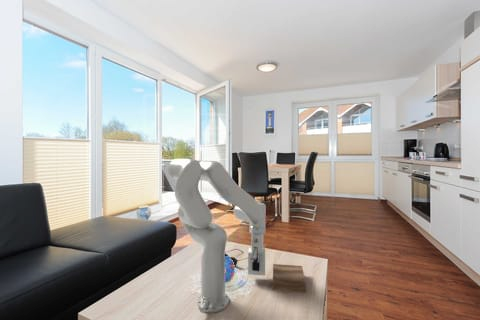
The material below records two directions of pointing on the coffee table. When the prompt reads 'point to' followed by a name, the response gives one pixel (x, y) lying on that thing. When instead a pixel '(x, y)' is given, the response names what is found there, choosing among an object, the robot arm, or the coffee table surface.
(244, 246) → the coffee table surface
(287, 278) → the walnut block
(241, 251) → the sunglasses
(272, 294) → the coffee table surface
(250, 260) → the small box
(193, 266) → the coffee table surface
